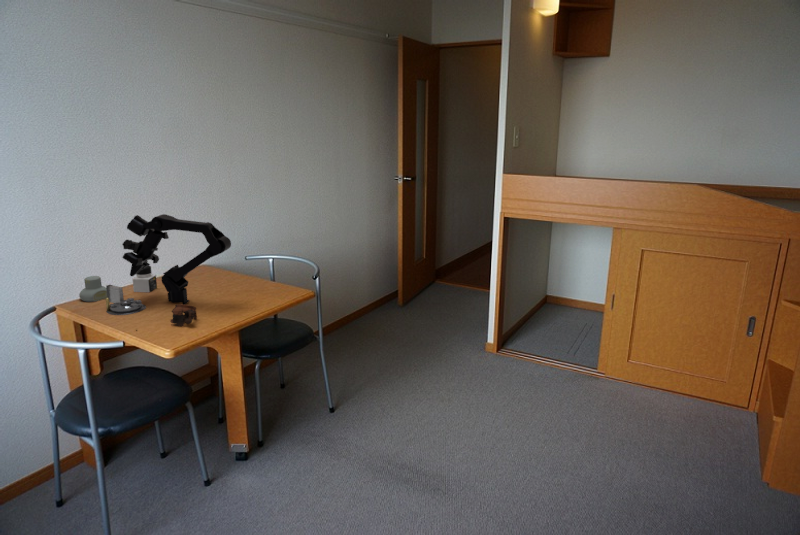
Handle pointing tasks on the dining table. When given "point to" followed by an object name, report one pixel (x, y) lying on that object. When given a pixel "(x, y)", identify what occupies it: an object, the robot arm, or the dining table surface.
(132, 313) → the flange
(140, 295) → the dining table surface
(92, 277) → the air freshener
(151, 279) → the medicine bottle
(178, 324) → the pottery mug
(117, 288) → the grey studded disc
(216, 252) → the robot arm
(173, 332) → the dining table surface
